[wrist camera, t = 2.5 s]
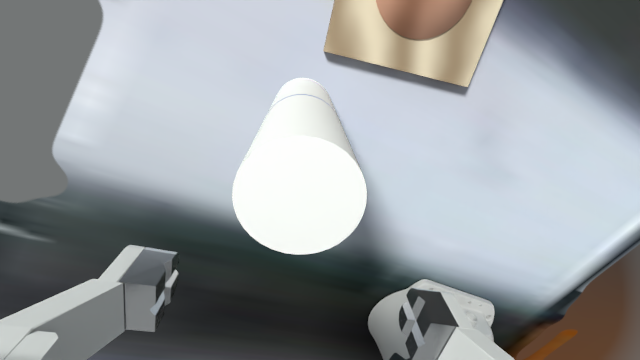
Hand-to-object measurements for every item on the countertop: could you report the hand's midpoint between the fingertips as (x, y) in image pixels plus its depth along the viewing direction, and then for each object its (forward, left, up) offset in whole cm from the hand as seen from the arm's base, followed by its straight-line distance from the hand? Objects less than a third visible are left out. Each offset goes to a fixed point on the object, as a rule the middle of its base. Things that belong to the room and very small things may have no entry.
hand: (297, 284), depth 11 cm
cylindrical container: (0, 0, -31) cm, 31 cm away
